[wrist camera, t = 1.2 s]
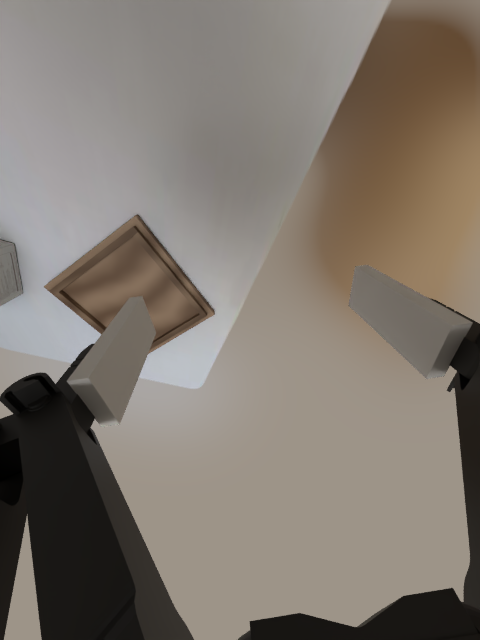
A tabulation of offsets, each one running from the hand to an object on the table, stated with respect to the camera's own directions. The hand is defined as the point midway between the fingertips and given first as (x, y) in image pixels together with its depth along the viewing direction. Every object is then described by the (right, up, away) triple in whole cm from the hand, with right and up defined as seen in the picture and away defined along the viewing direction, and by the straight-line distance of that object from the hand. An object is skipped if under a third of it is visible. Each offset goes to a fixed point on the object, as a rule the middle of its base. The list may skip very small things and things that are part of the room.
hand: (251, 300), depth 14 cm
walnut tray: (-20, +3, +28) cm, 35 cm away
